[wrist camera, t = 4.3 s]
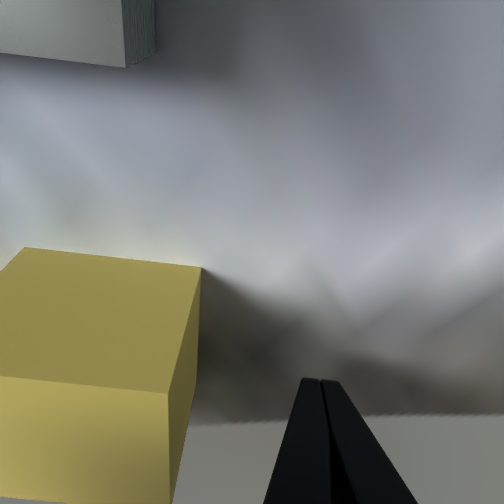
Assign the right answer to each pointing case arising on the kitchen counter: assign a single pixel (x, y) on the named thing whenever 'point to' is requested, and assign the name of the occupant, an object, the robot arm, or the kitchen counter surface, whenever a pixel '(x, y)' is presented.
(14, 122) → the kitchen counter surface
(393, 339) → the kitchen counter surface
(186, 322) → the block
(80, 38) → the socket
